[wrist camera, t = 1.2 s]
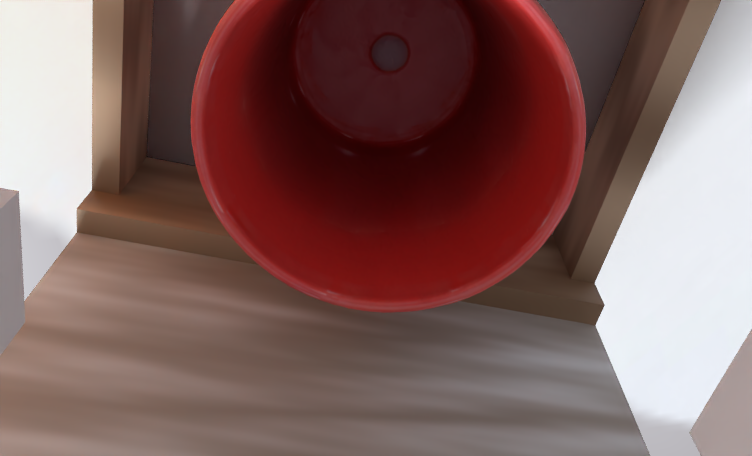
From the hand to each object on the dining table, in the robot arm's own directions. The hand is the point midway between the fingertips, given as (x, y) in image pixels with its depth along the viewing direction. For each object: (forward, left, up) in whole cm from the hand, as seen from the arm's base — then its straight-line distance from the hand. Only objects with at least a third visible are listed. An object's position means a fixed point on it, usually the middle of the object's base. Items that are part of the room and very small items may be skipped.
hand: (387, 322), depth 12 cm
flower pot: (0, 0, -17) cm, 17 cm away
